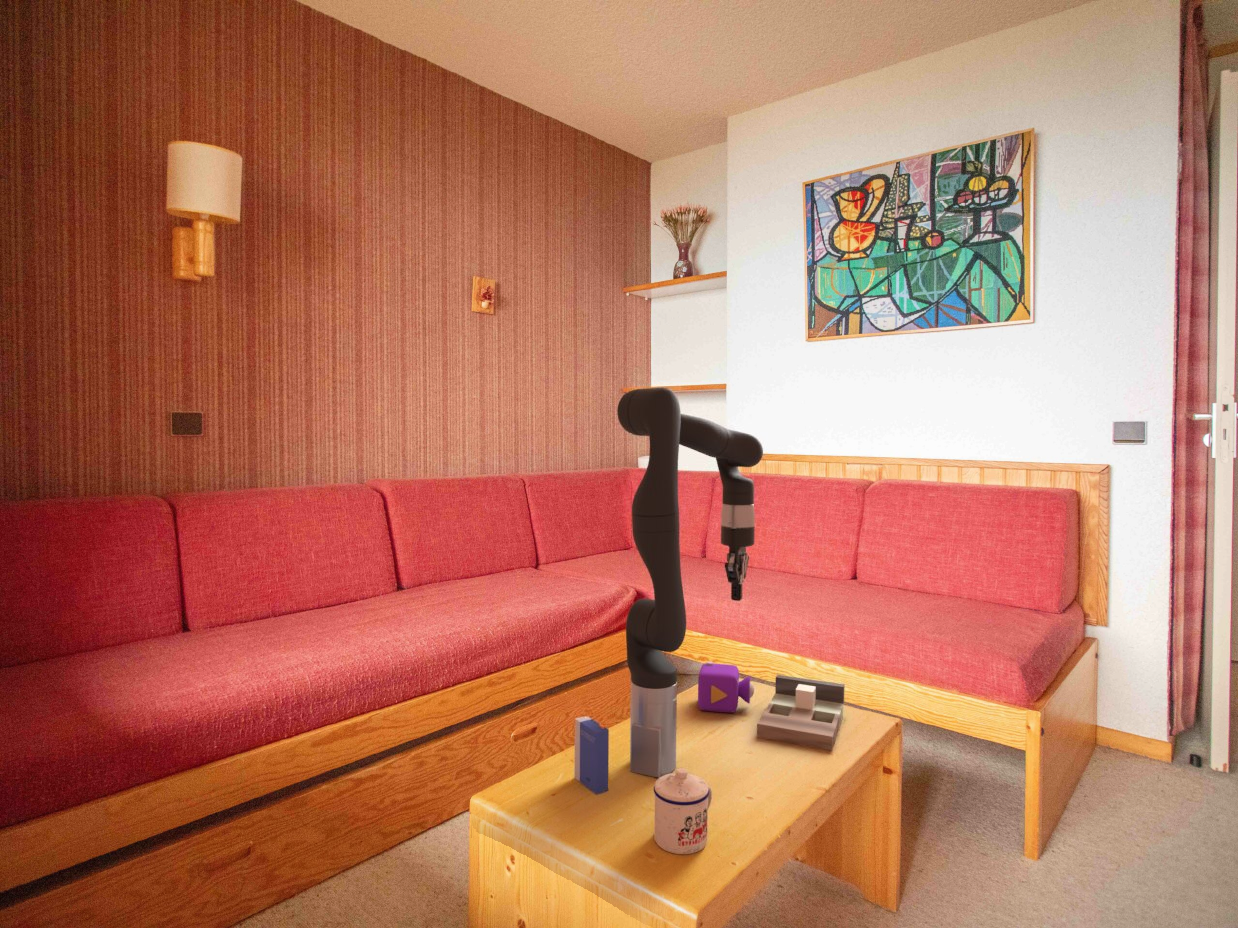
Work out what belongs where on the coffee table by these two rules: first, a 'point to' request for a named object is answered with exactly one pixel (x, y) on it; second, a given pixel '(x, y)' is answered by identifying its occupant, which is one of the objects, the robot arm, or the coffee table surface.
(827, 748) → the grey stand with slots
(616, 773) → the coffee table surface
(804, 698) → the block
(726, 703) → the toy camera
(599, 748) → the walkman
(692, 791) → the teacup with lid
